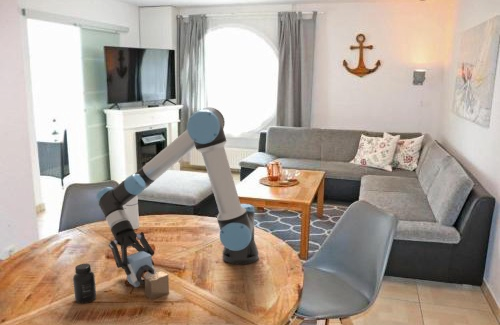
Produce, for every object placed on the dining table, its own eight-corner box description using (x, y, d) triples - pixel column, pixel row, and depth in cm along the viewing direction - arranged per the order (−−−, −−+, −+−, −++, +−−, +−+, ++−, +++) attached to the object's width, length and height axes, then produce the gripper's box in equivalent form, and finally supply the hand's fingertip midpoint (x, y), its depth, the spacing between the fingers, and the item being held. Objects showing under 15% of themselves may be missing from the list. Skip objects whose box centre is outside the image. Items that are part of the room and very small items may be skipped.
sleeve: (127, 281, 154) (125, 256, 152) (144, 275, 159) (142, 250, 157) (135, 287, 150) (134, 261, 148) (152, 280, 155) (151, 255, 153)
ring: (136, 284, 150) (135, 268, 149) (151, 278, 154) (150, 263, 153) (139, 286, 149) (138, 270, 147) (154, 280, 153) (153, 264, 152)
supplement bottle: (99, 293, 147) (96, 261, 145) (92, 303, 141) (89, 270, 138) (79, 294, 147) (76, 262, 145) (71, 304, 140) (68, 271, 138)
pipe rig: (115, 276, 160) (114, 259, 159) (132, 270, 165) (131, 254, 164) (151, 300, 143) (150, 281, 142) (169, 293, 148) (168, 274, 146)
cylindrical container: (135, 230, 209) (132, 181, 204) (121, 229, 211) (118, 180, 206) (141, 225, 216) (139, 178, 211) (128, 224, 218) (125, 177, 213)
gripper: (139, 223, 169) (164, 273, 161) (91, 236, 155) (116, 292, 147) (146, 213, 164) (172, 265, 156) (97, 226, 150) (122, 283, 142)
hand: (144, 278), depth 151 cm, fingers closed on sleeve, 7 cm apart
